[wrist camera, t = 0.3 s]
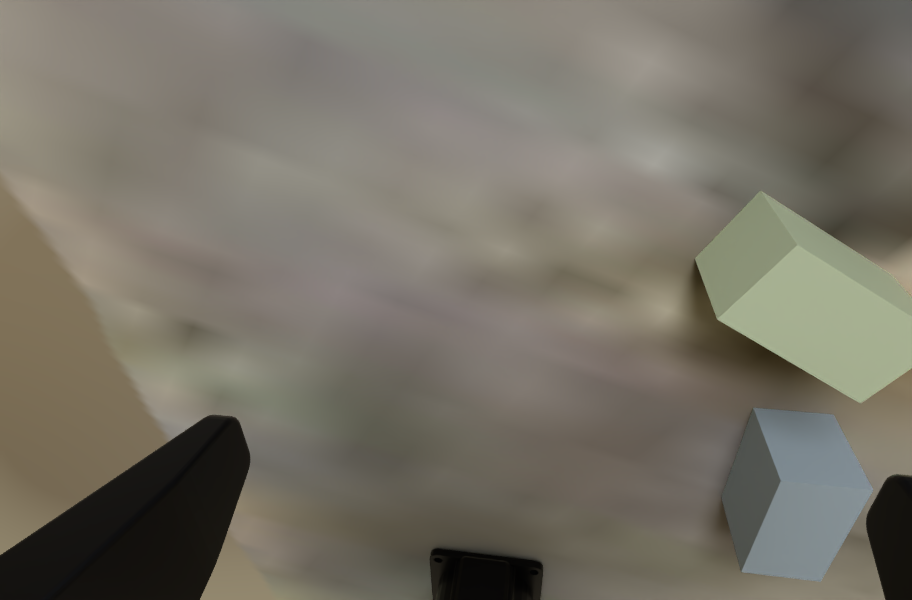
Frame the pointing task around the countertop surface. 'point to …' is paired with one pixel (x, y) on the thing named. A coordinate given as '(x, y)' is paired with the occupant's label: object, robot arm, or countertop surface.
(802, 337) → the sage block
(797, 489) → the slate-blue block
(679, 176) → the countertop surface
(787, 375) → the countertop surface
